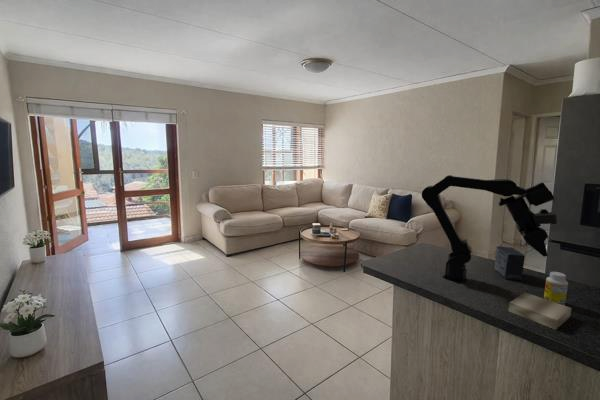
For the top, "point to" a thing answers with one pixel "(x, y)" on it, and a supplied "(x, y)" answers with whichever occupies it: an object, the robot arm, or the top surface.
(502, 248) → the small box
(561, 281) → the supplement bottle
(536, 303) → the birch base block
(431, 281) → the top surface
